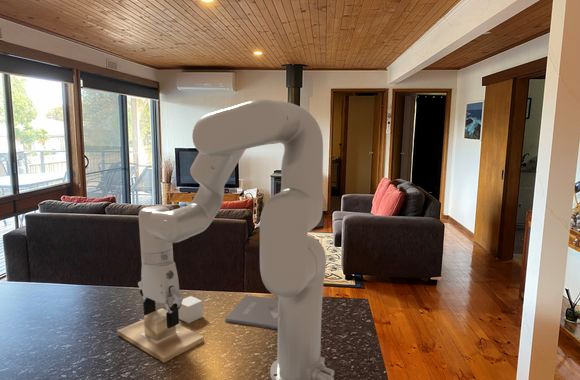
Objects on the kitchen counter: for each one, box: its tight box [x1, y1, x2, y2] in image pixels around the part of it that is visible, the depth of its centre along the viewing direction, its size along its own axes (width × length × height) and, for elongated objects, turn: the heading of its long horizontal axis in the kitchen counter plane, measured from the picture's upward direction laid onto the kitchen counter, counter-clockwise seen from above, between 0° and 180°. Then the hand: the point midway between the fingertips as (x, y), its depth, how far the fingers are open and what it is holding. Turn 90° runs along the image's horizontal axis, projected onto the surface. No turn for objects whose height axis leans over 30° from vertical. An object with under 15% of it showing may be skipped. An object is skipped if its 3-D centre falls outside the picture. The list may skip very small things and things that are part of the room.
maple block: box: [143, 308, 176, 341], centre depth 104 cm, size 6×6×5 cm
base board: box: [116, 318, 205, 364], centre depth 104 cm, size 20×12×1 cm, turn 53°
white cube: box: [178, 295, 203, 324], centre depth 115 cm, size 5×5×5 cm
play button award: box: [224, 294, 278, 330], centre depth 119 cm, size 16×2×20 cm
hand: (161, 320), depth 103 cm, fingers open, 9 cm apart
